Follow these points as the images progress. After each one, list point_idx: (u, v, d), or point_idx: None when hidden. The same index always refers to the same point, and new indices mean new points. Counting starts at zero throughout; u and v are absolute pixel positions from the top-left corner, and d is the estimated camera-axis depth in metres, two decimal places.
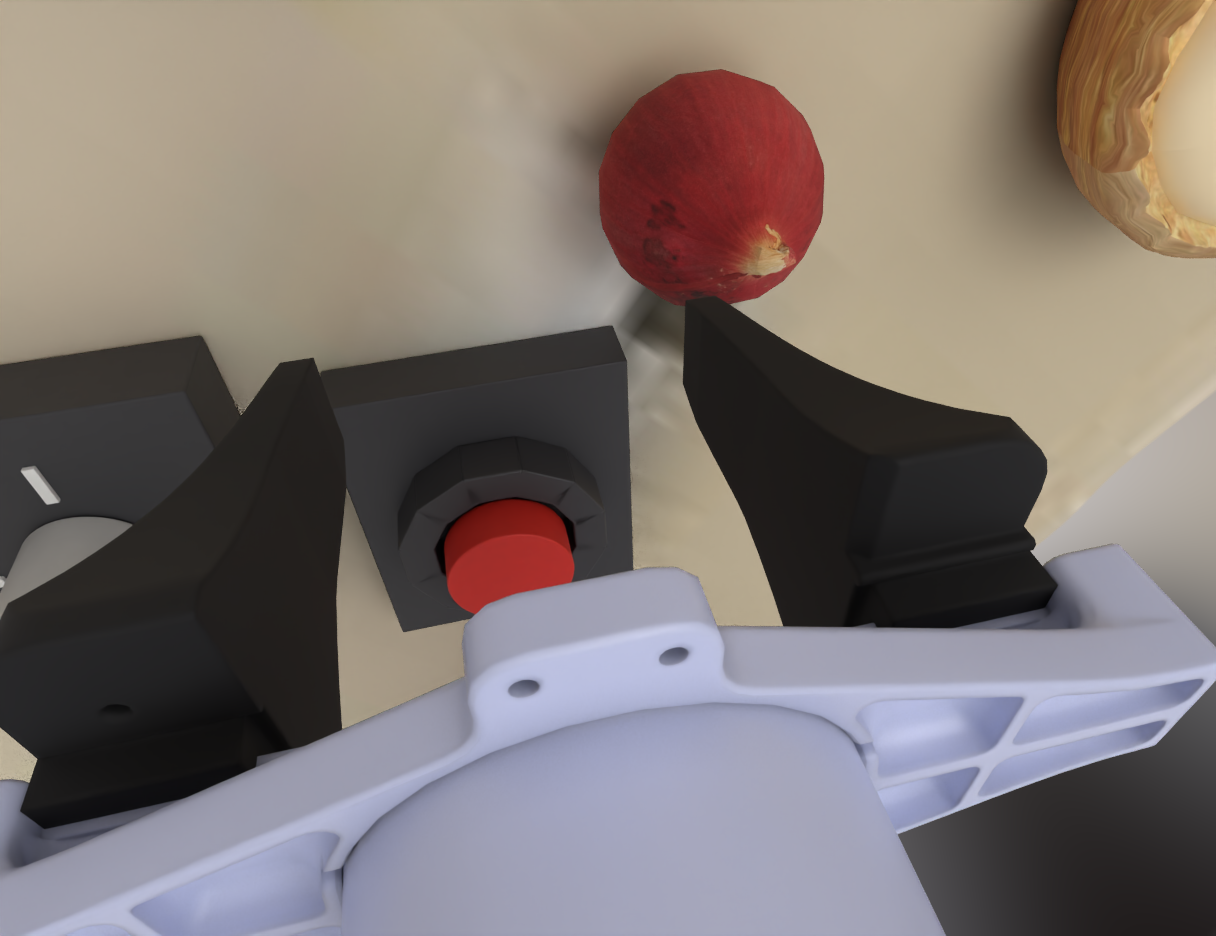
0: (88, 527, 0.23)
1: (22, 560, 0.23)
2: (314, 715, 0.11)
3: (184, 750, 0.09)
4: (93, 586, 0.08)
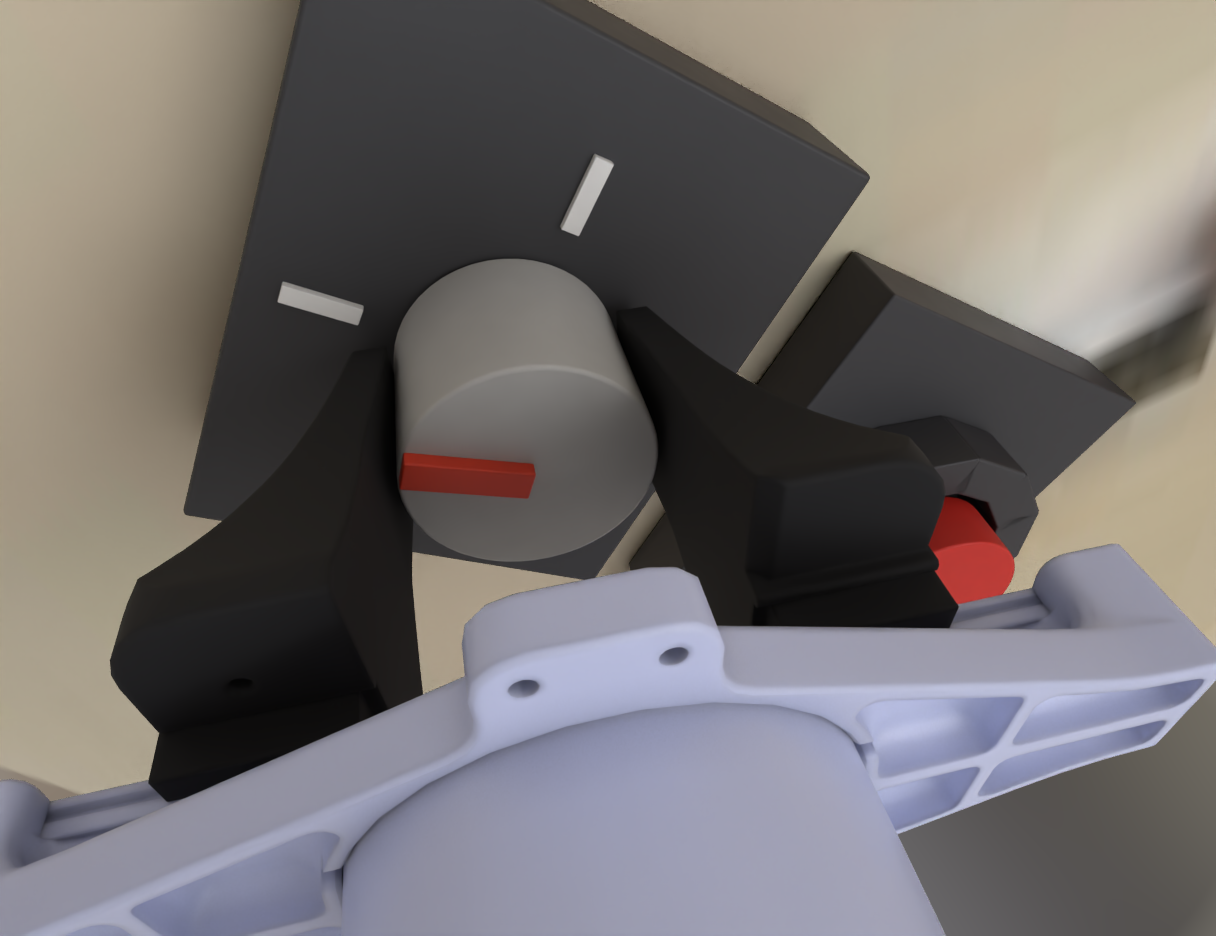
0: (589, 295, 0.14)
1: (508, 294, 0.13)
2: (407, 695, 0.11)
3: (302, 725, 0.09)
4: (218, 563, 0.08)
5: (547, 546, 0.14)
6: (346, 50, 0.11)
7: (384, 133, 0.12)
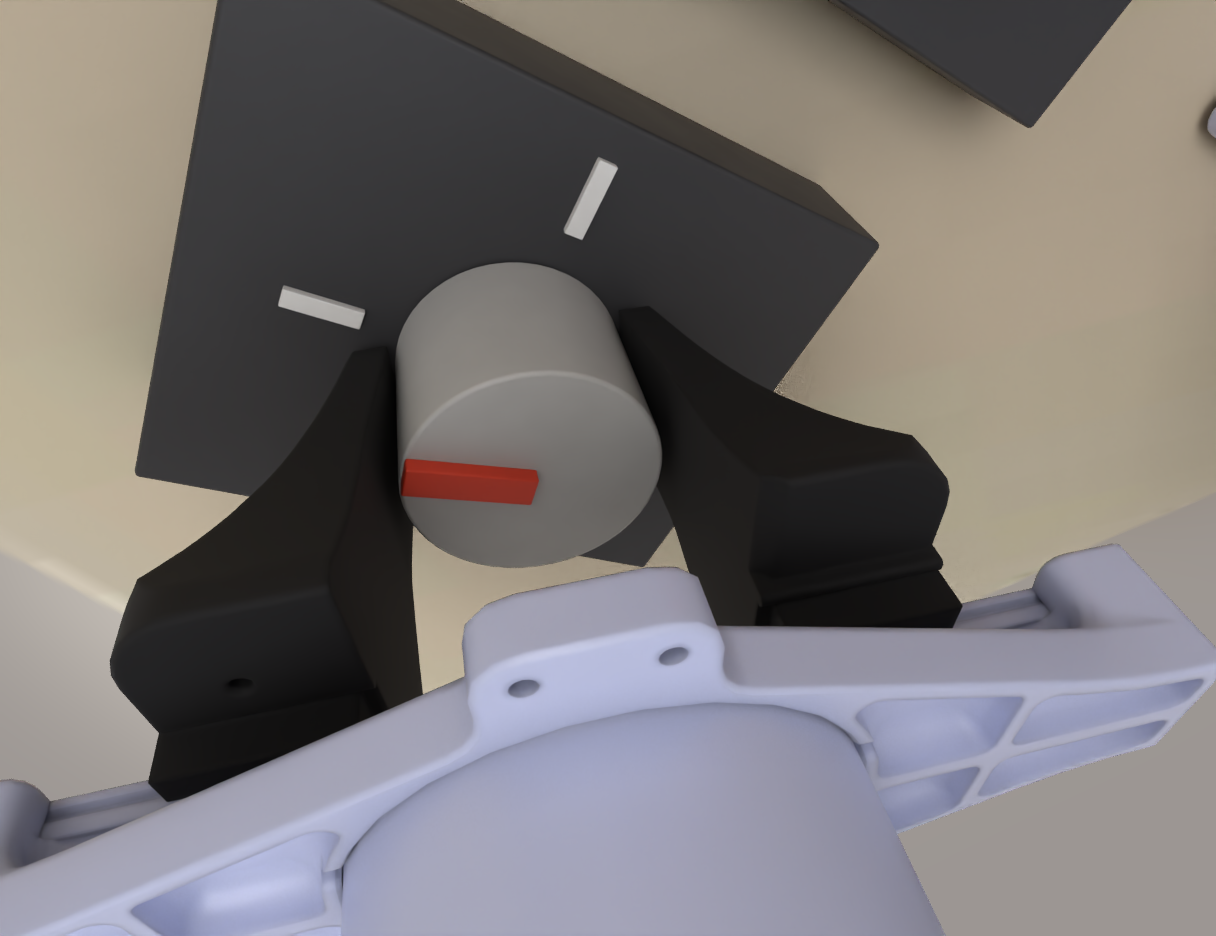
0: (592, 299, 0.14)
1: (511, 298, 0.13)
2: (407, 695, 0.11)
3: (303, 725, 0.09)
4: (219, 563, 0.08)
5: (550, 552, 0.14)
6: (240, 469, 0.16)
7: None
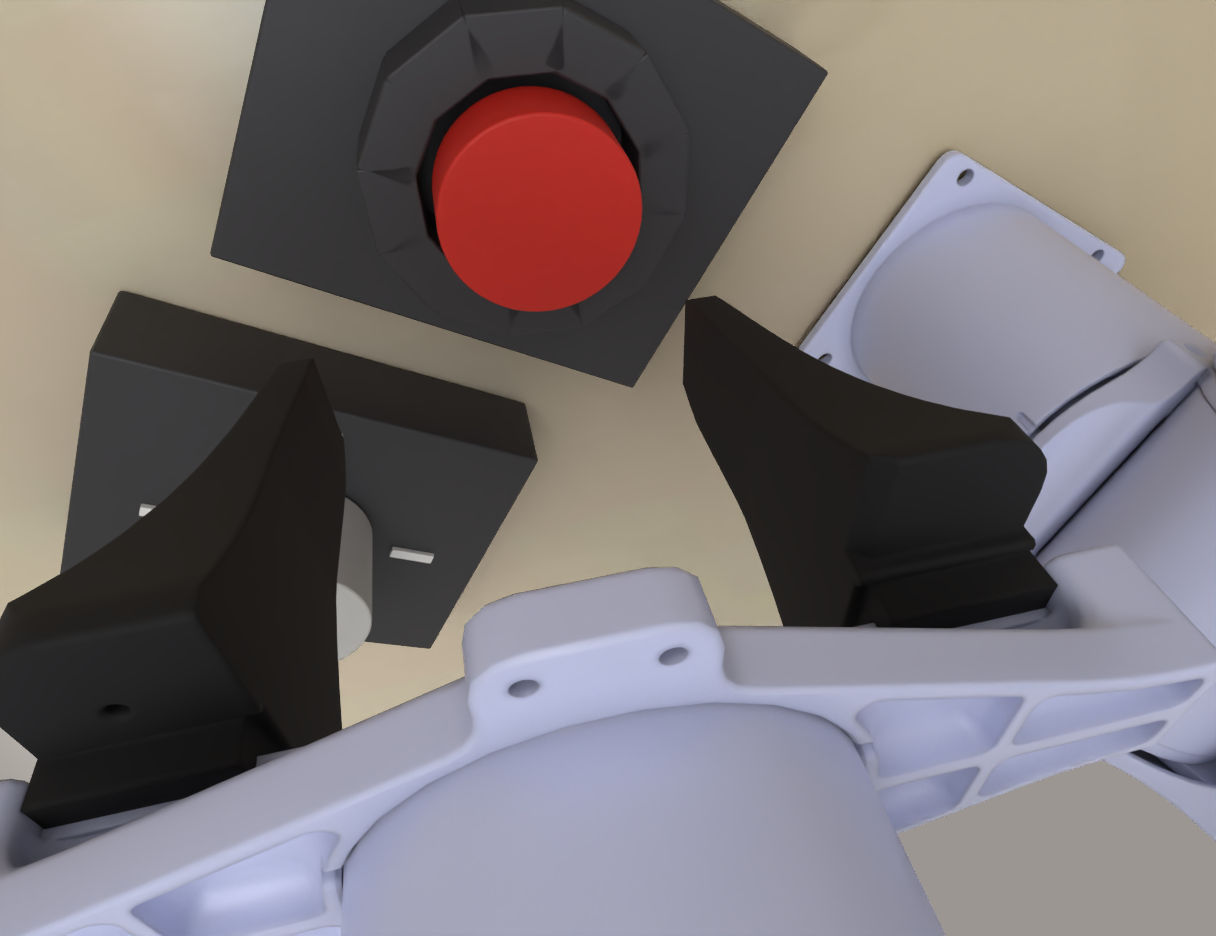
0: None
1: None
2: (314, 715, 0.11)
3: (184, 750, 0.09)
4: (92, 586, 0.08)
5: None
6: None
7: None
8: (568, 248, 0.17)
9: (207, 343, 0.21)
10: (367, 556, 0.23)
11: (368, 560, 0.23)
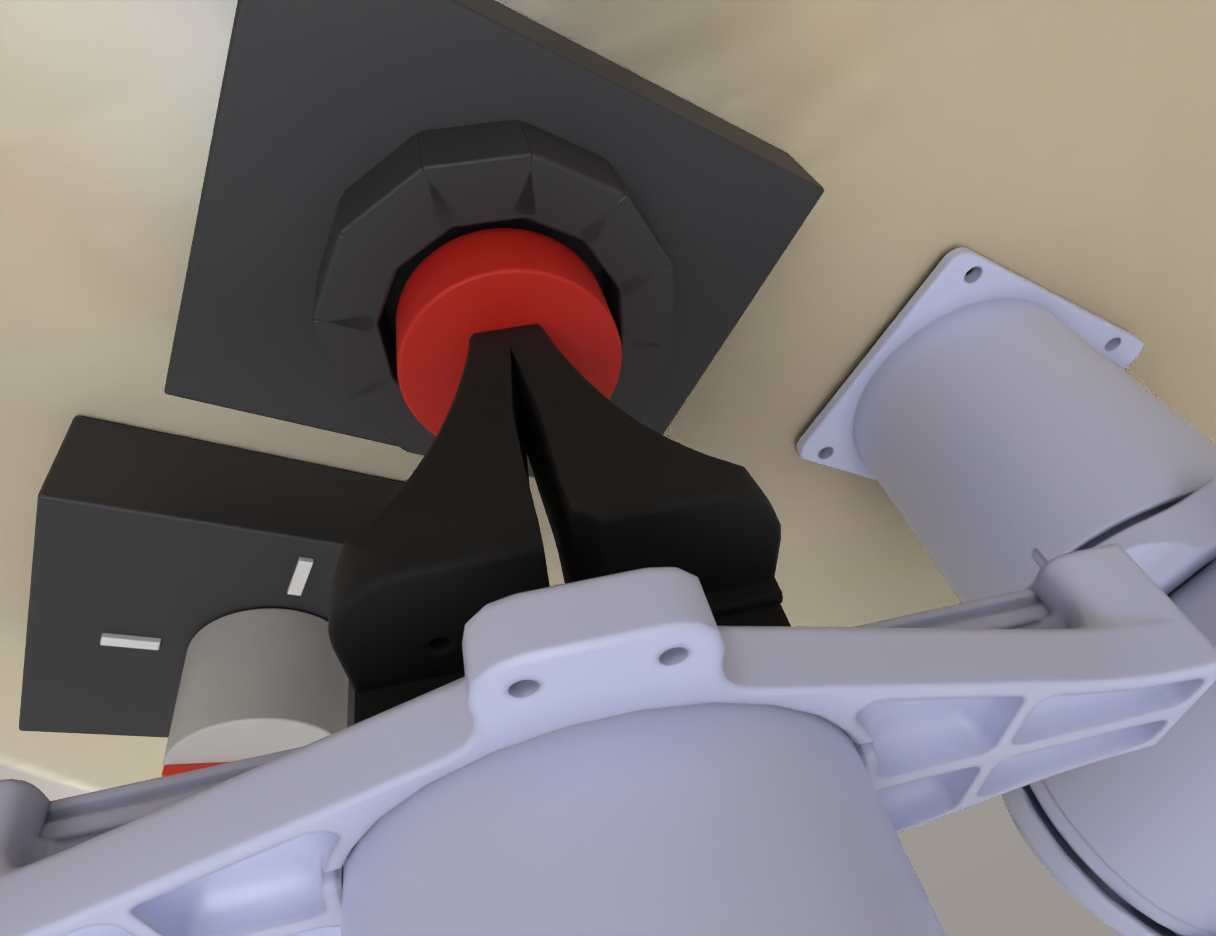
0: (312, 628, 0.22)
1: (243, 648, 0.20)
2: None
3: None
4: (421, 525, 0.09)
5: None
6: (92, 722, 0.23)
7: (131, 708, 0.23)
8: None
9: (168, 470, 0.20)
10: (342, 681, 0.22)
11: (343, 686, 0.22)
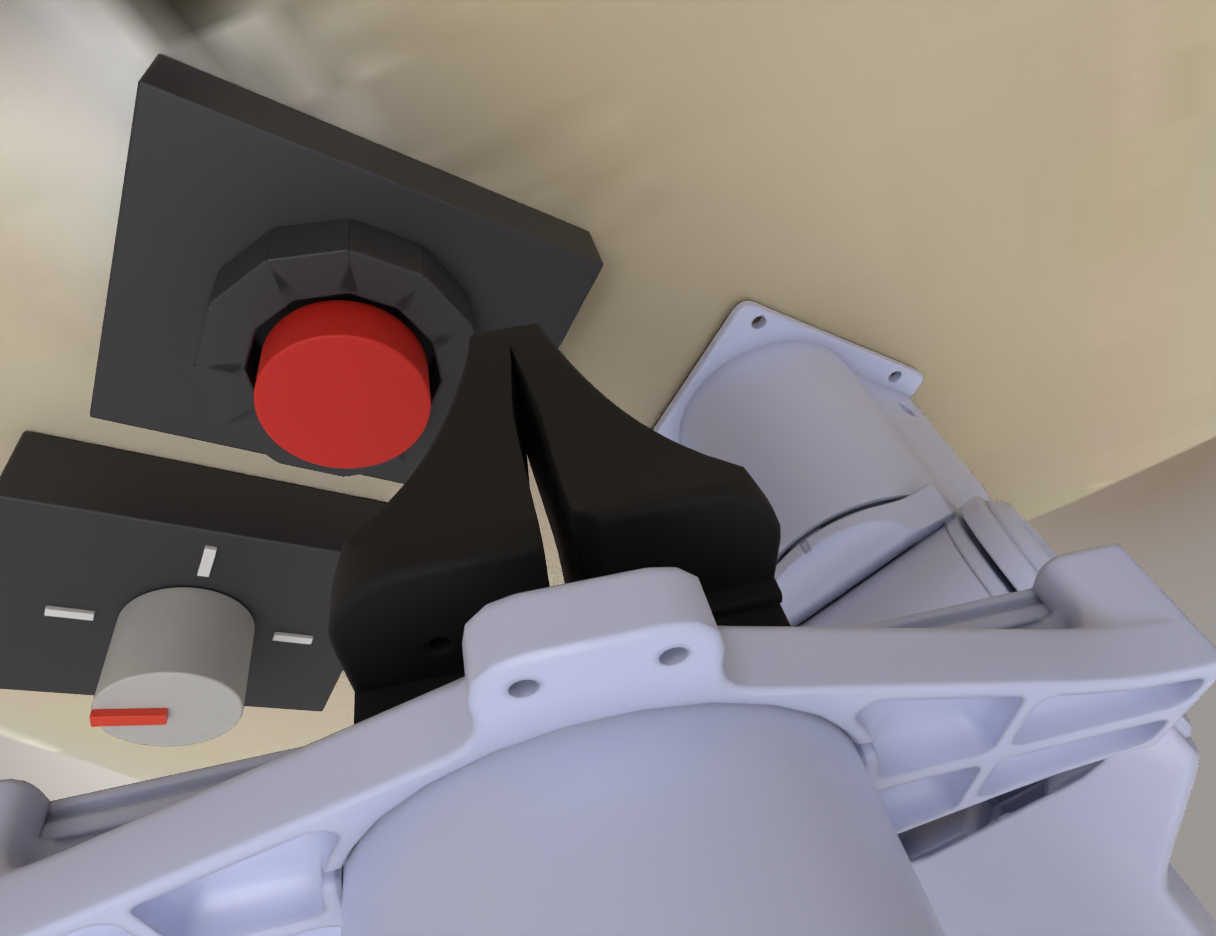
0: (218, 603, 0.27)
1: (159, 618, 0.25)
2: None
3: None
4: (421, 526, 0.09)
5: (193, 739, 0.26)
6: (41, 680, 0.28)
7: (72, 670, 0.28)
8: (371, 424, 0.21)
9: (98, 475, 0.25)
10: (243, 647, 0.27)
11: (243, 650, 0.27)
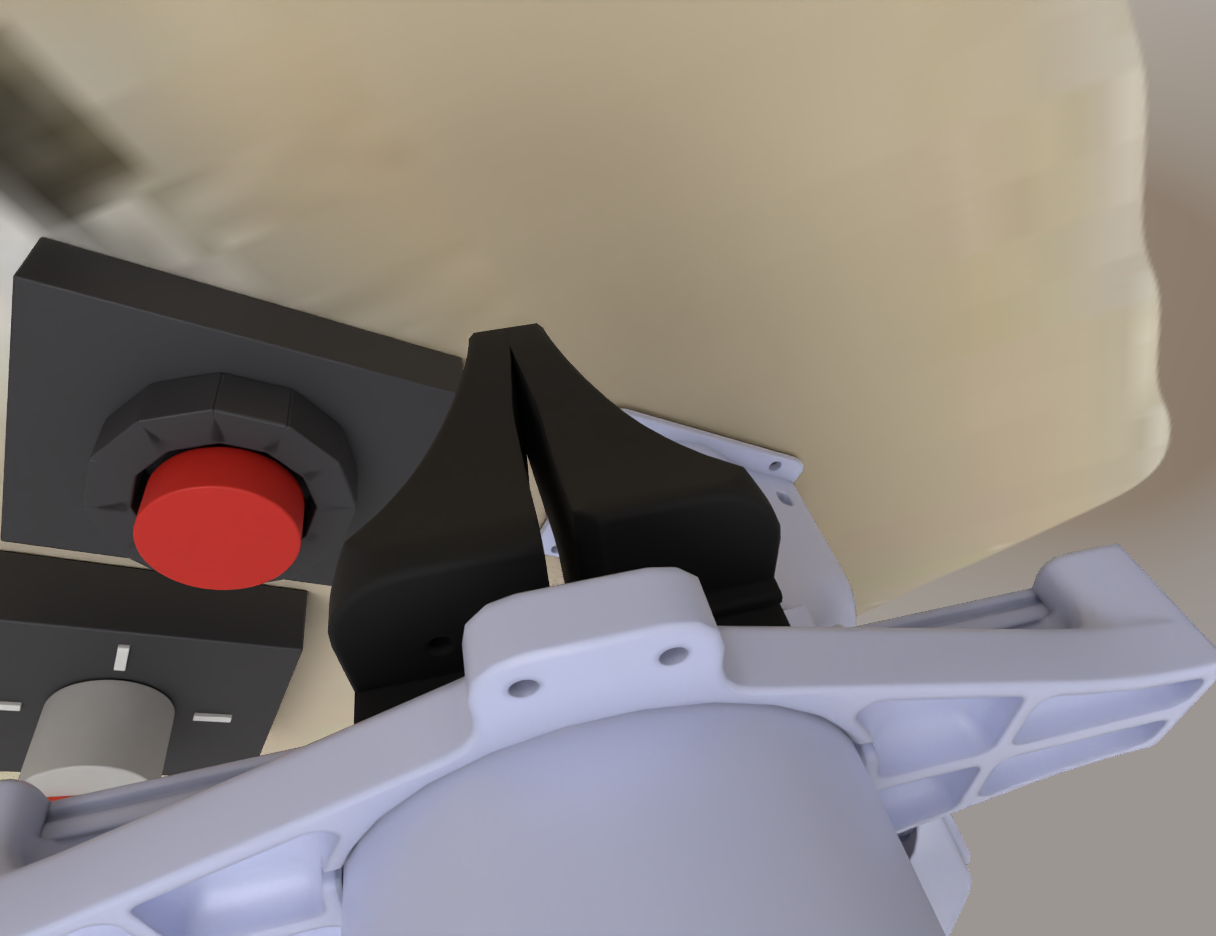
0: (135, 694, 0.29)
1: (76, 712, 0.28)
2: None
3: None
4: (421, 525, 0.09)
5: None
6: None
7: (6, 752, 0.30)
8: (246, 553, 0.23)
9: (17, 584, 0.27)
10: (158, 733, 0.29)
11: (159, 737, 0.29)
